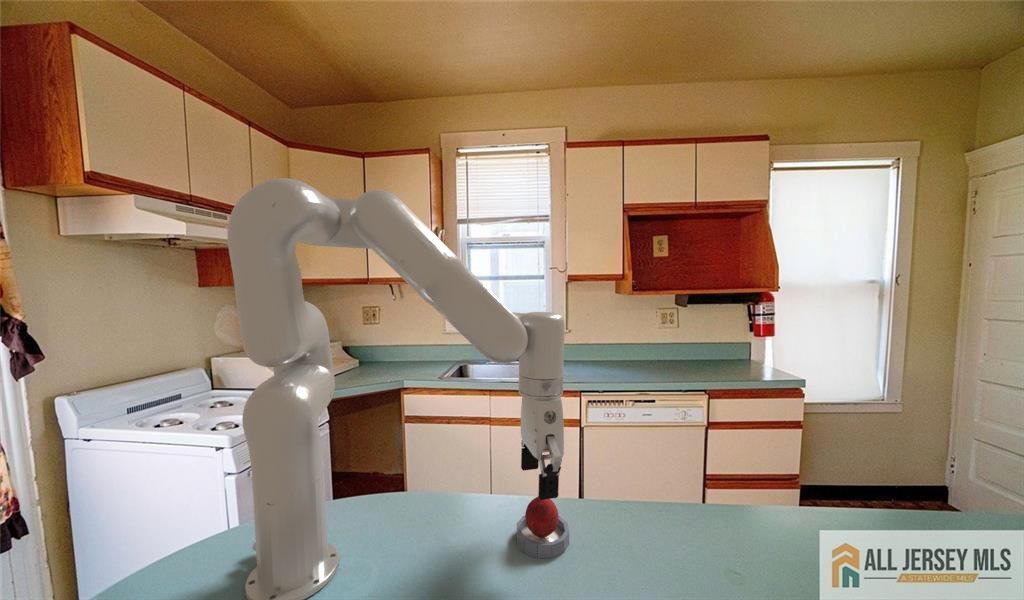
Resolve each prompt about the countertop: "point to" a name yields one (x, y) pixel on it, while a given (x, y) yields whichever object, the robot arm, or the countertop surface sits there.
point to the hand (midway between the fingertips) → (538, 482)
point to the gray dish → (543, 540)
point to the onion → (541, 517)
